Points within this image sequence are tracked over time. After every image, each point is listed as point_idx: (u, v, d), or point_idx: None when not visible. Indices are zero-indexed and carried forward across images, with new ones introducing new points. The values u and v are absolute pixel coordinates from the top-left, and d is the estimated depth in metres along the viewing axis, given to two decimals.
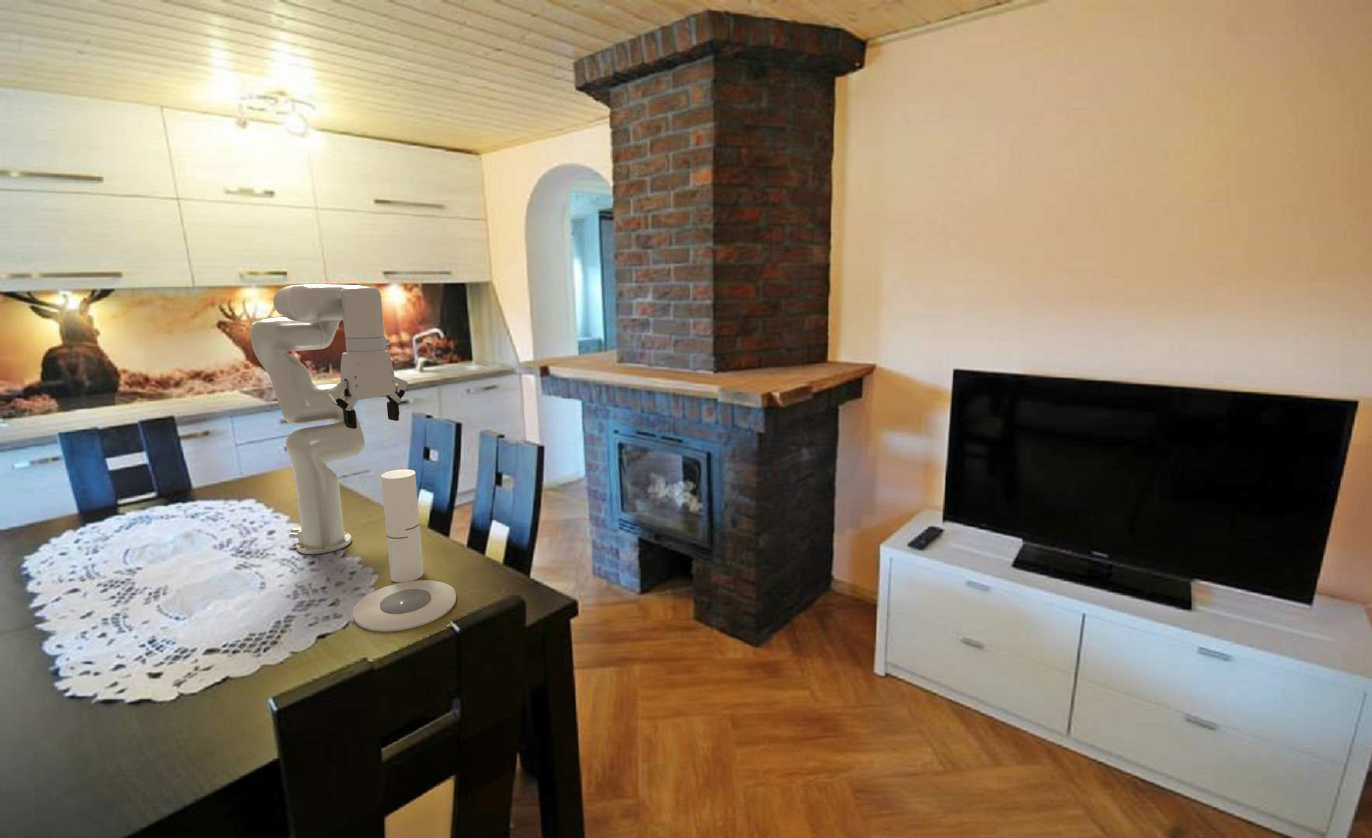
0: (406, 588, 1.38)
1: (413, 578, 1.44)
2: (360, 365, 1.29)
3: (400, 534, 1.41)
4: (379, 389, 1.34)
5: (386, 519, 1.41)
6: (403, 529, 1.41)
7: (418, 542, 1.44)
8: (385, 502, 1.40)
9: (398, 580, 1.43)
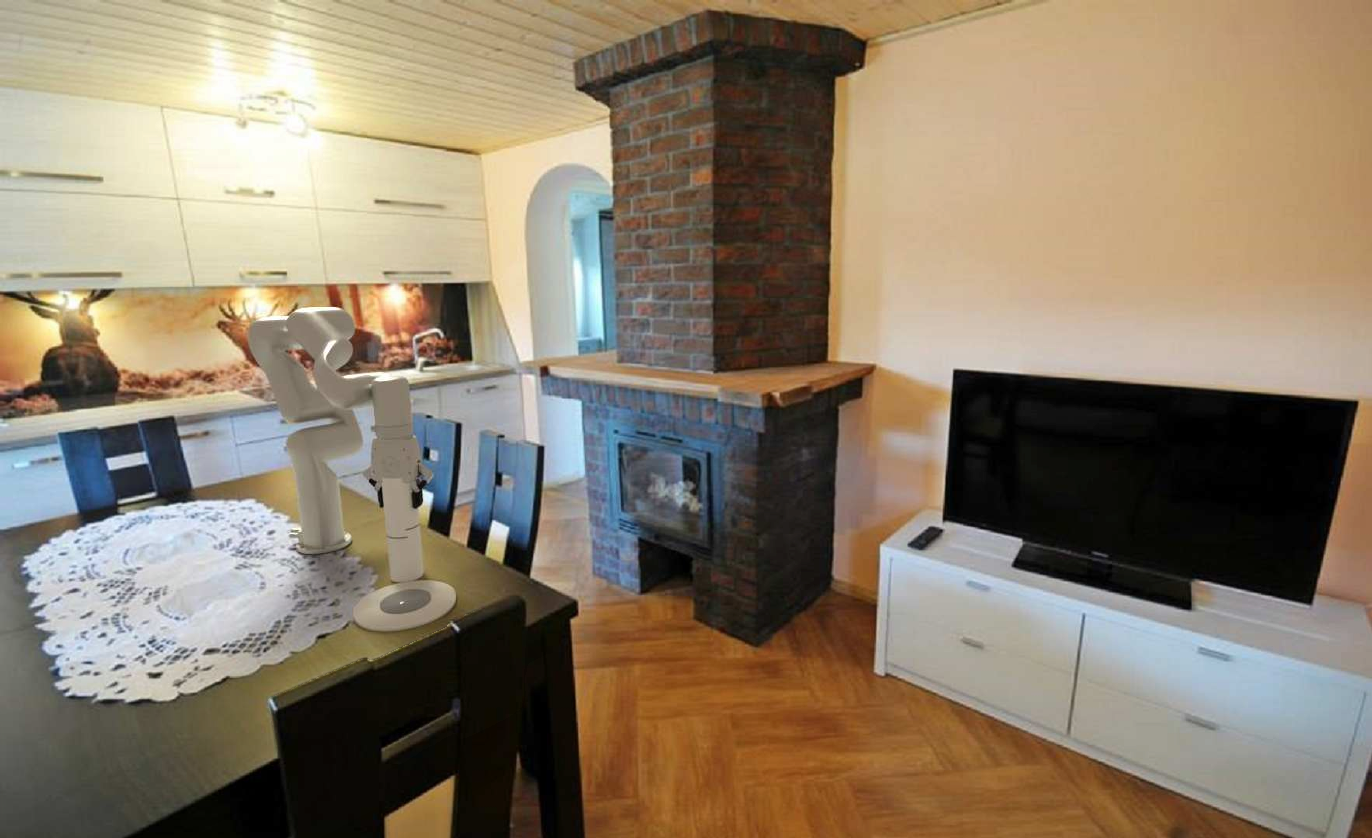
0: (406, 588, 1.38)
1: (413, 578, 1.44)
2: None
3: (400, 534, 1.41)
4: None
5: (386, 519, 1.41)
6: (403, 529, 1.41)
7: (419, 542, 1.44)
8: (385, 502, 1.40)
9: (398, 580, 1.43)
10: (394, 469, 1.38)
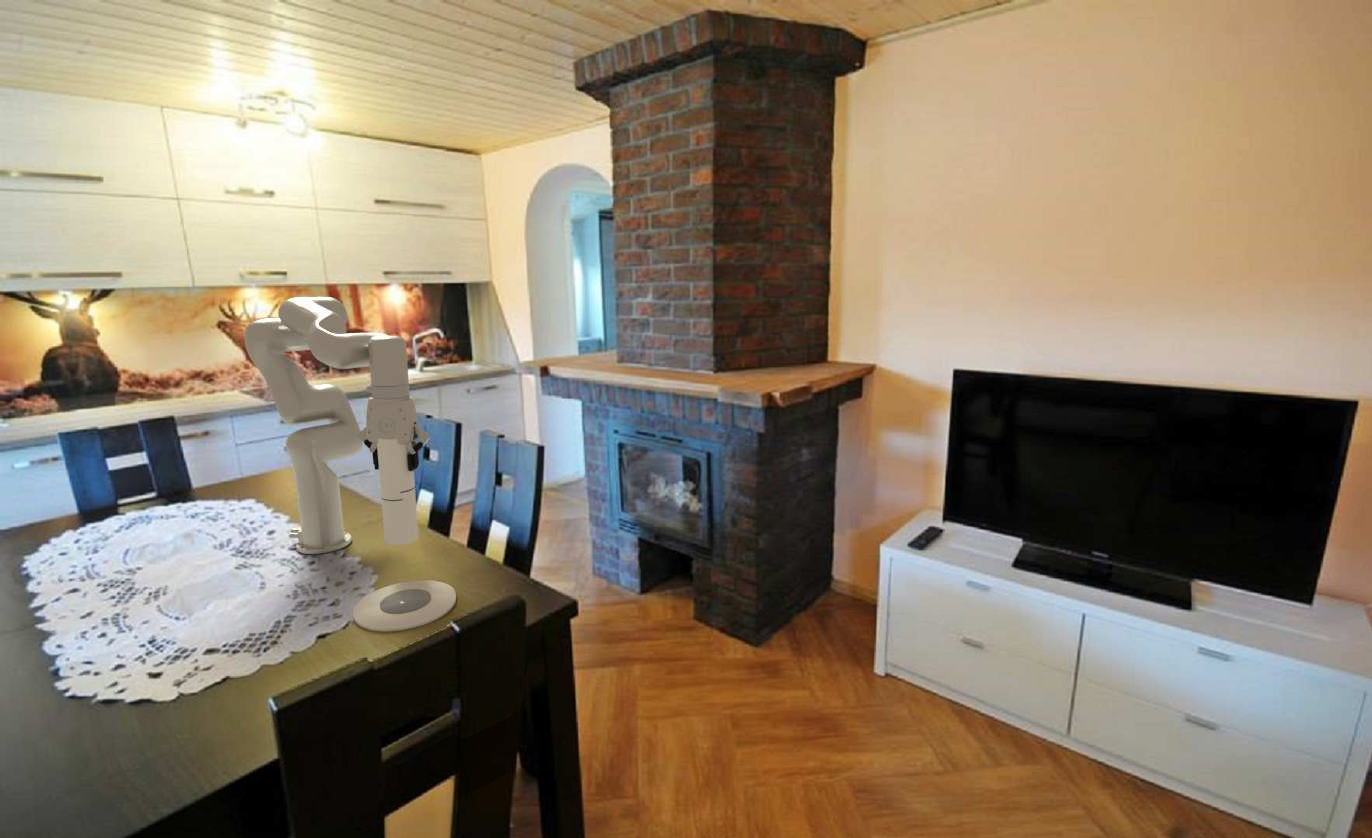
0: (406, 588, 1.38)
1: (408, 542, 1.43)
2: None
3: (395, 496, 1.39)
4: None
5: (381, 481, 1.39)
6: (398, 491, 1.39)
7: (414, 505, 1.43)
8: (380, 464, 1.38)
9: (392, 543, 1.41)
10: (390, 430, 1.36)
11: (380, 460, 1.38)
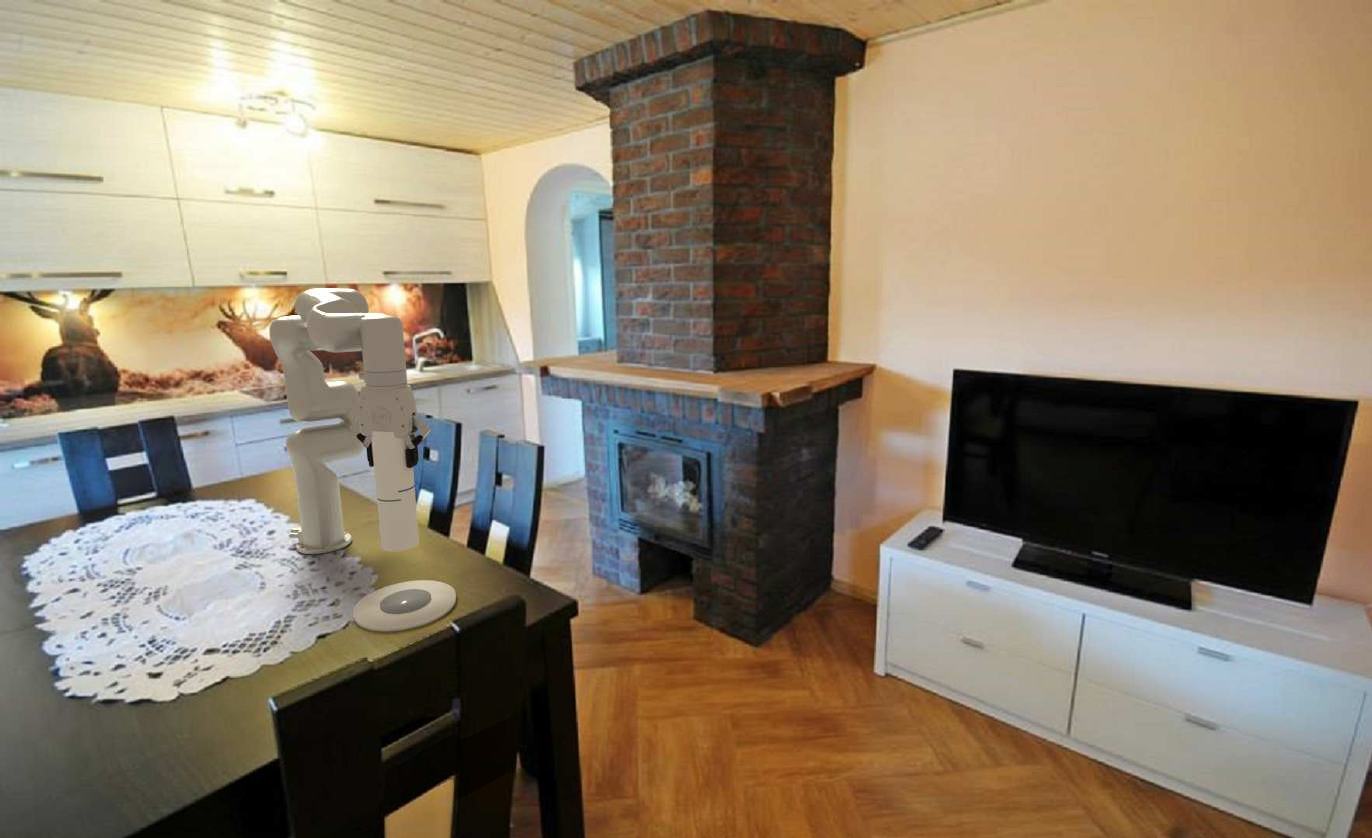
0: (406, 588, 1.38)
1: (407, 547, 1.27)
2: None
3: (392, 496, 1.24)
4: None
5: (376, 479, 1.24)
6: (396, 491, 1.24)
7: (413, 507, 1.28)
8: (375, 460, 1.23)
9: (390, 549, 1.26)
10: (385, 421, 1.21)
11: (375, 456, 1.23)
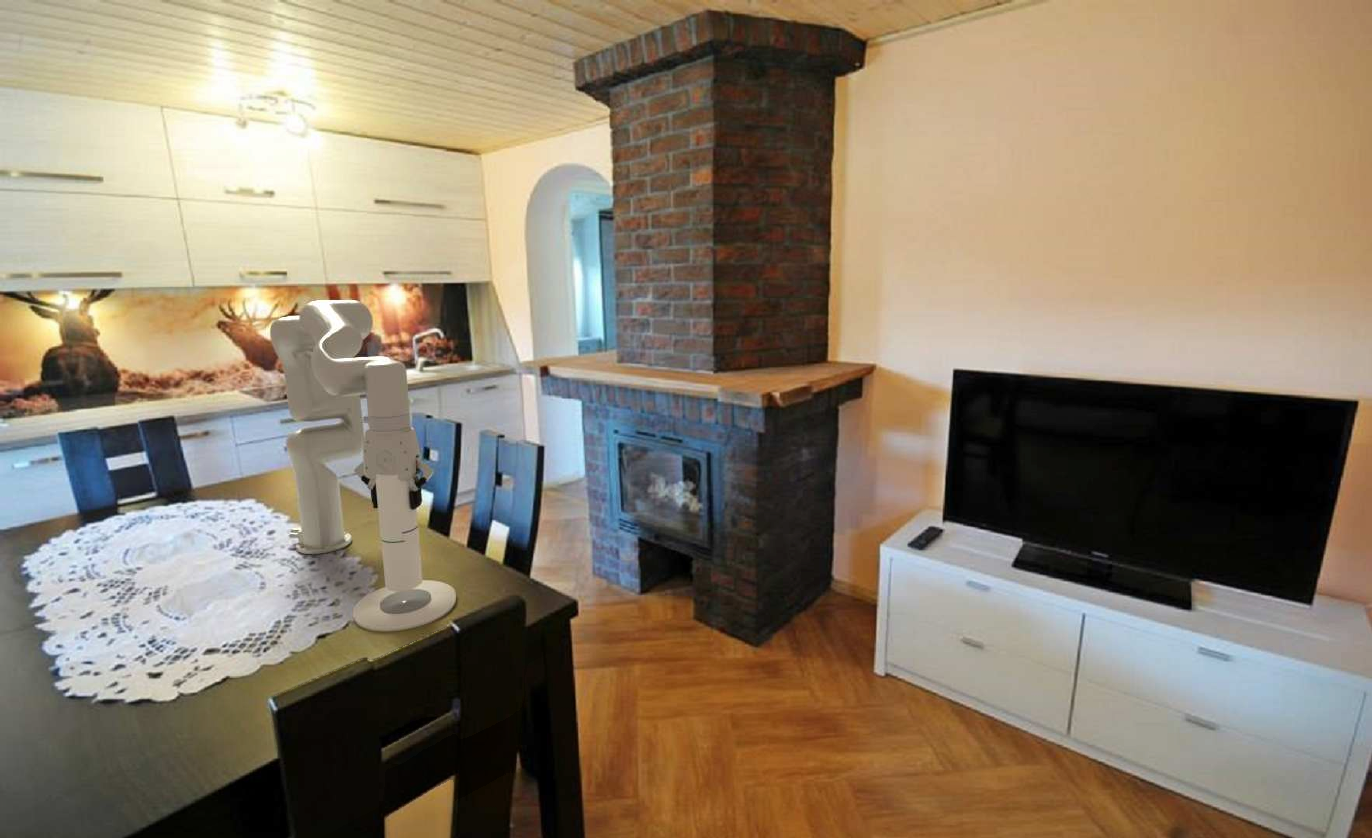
0: None
1: (411, 587, 1.29)
2: None
3: (396, 538, 1.26)
4: None
5: (380, 521, 1.26)
6: (399, 532, 1.26)
7: (417, 547, 1.29)
8: (379, 502, 1.25)
9: (394, 589, 1.28)
10: (389, 465, 1.23)
11: (379, 498, 1.24)
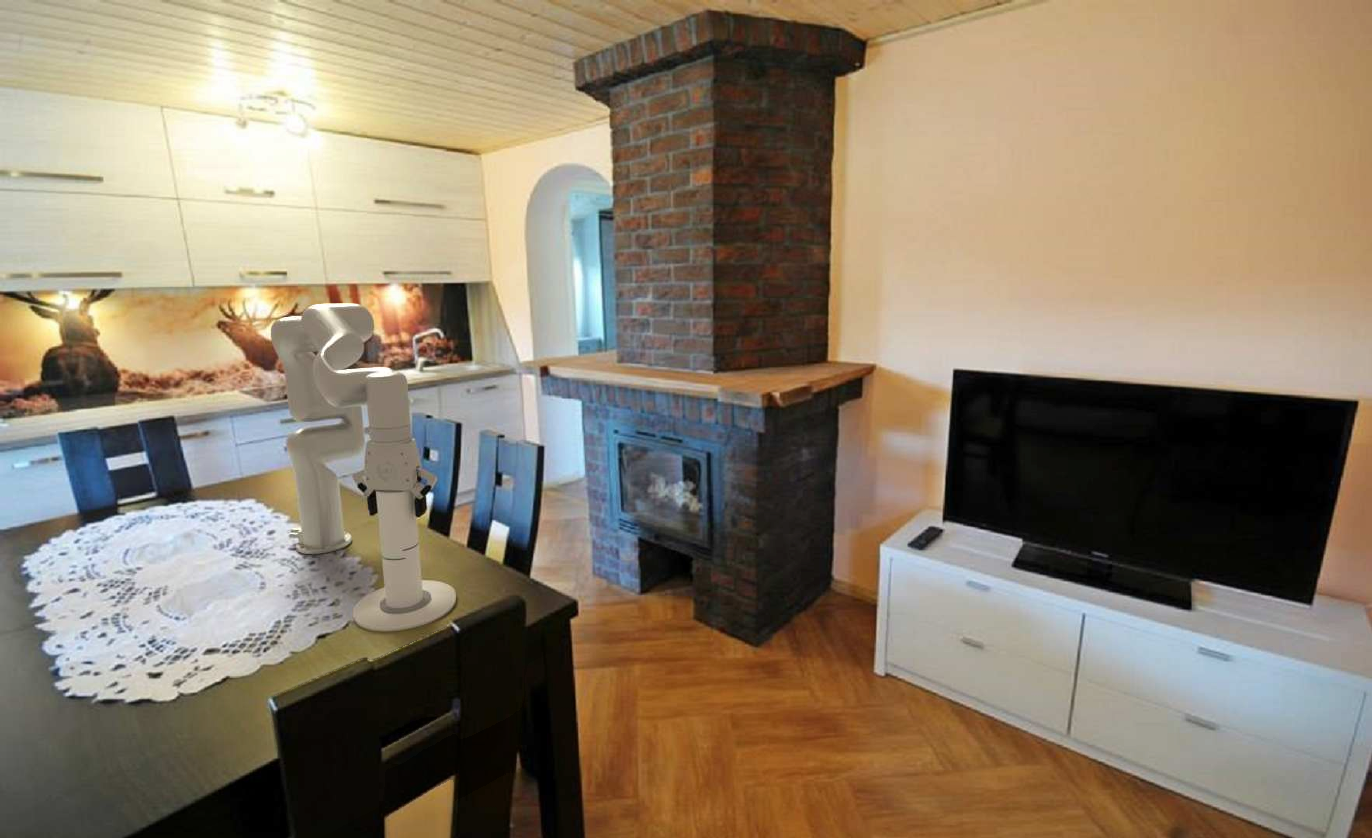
0: None
1: (411, 603, 1.30)
2: None
3: (397, 555, 1.26)
4: None
5: (381, 538, 1.26)
6: (400, 549, 1.26)
7: (417, 563, 1.30)
8: (380, 520, 1.25)
9: (395, 606, 1.29)
10: (390, 476, 1.23)
11: (380, 516, 1.25)
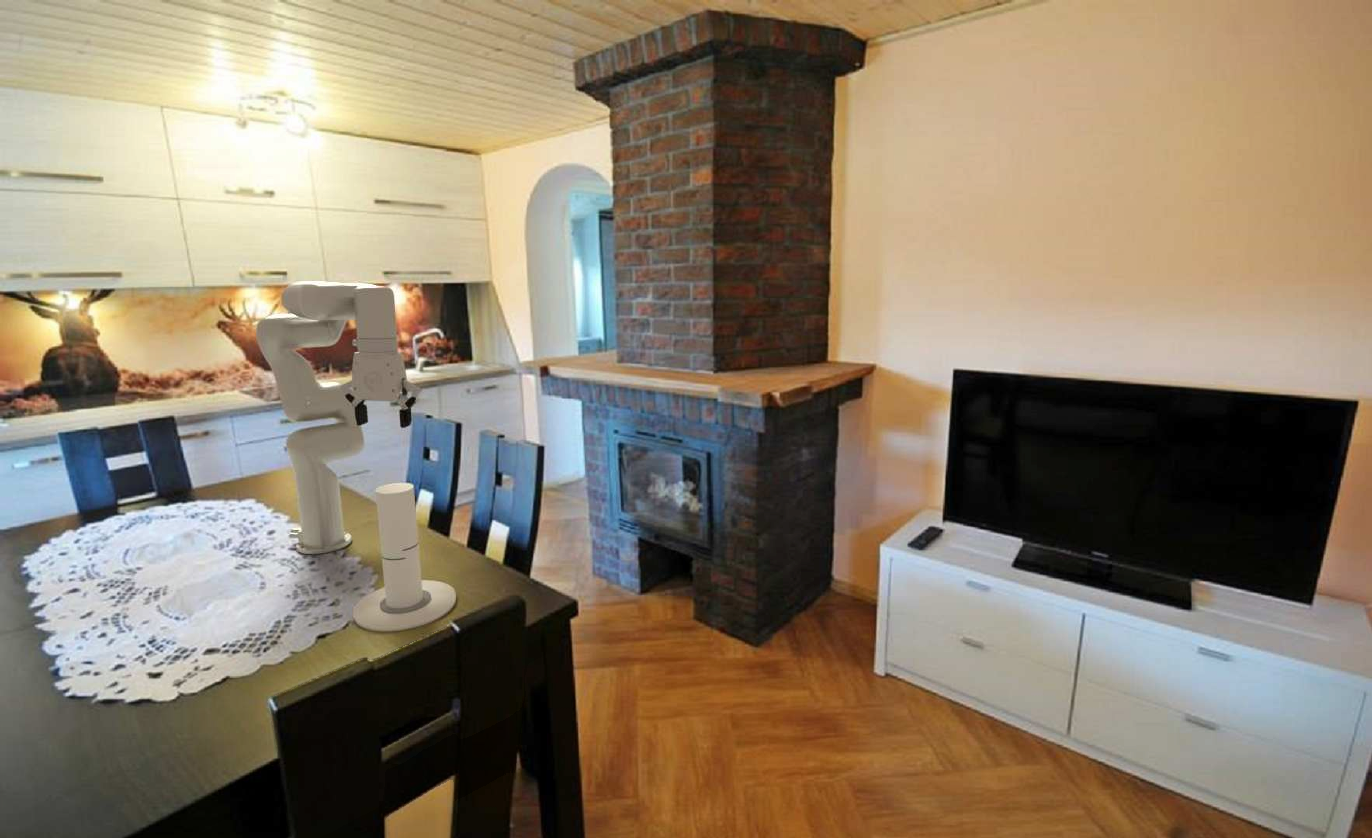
0: None
1: (411, 603, 1.30)
2: None
3: (397, 555, 1.26)
4: None
5: (381, 538, 1.26)
6: (400, 549, 1.26)
7: (417, 563, 1.30)
8: (380, 520, 1.25)
9: (395, 606, 1.29)
10: (376, 386, 1.29)
11: (380, 516, 1.25)
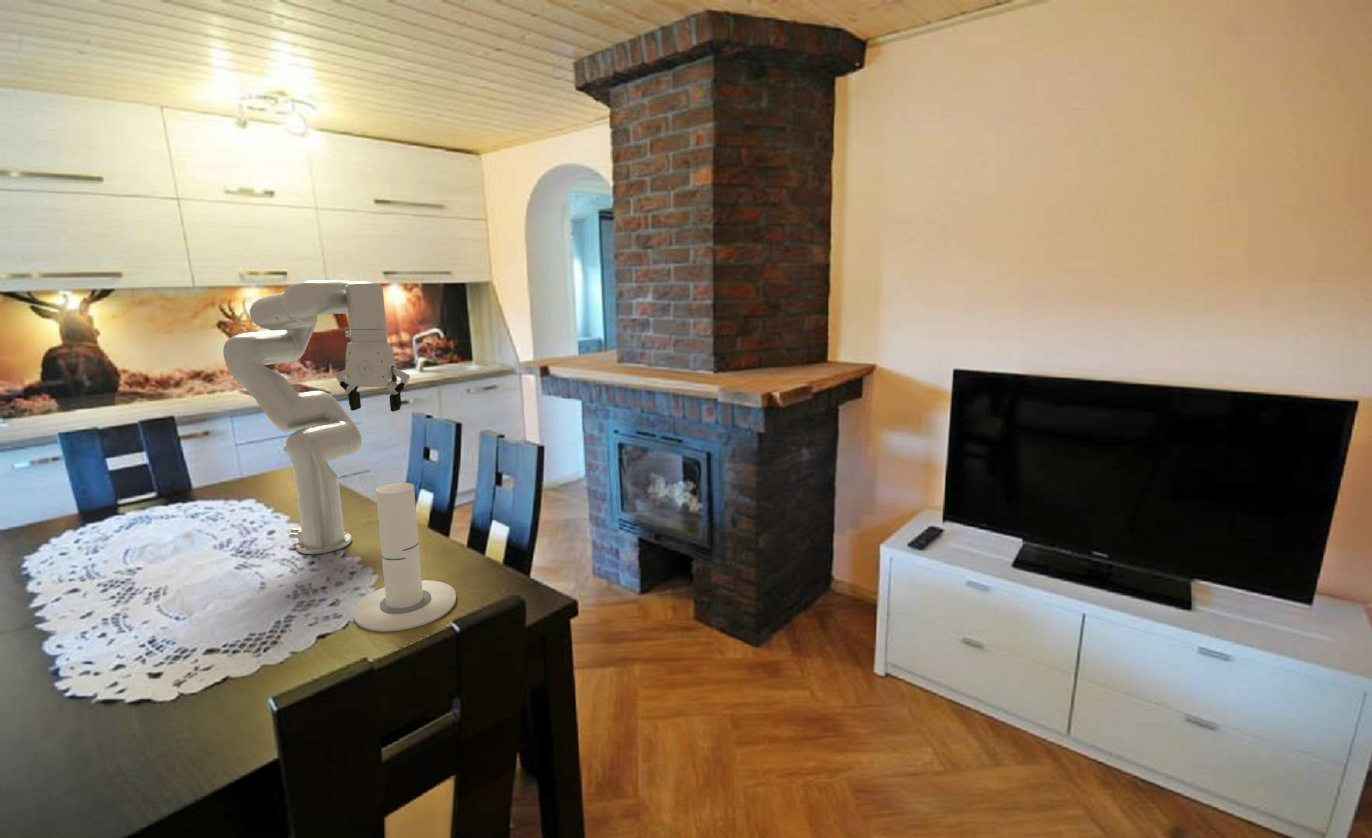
0: None
1: (411, 603, 1.30)
2: None
3: (397, 555, 1.26)
4: None
5: (381, 538, 1.27)
6: (400, 549, 1.26)
7: (417, 563, 1.30)
8: (380, 519, 1.25)
9: (395, 606, 1.29)
10: (368, 373, 1.41)
11: (380, 516, 1.25)
